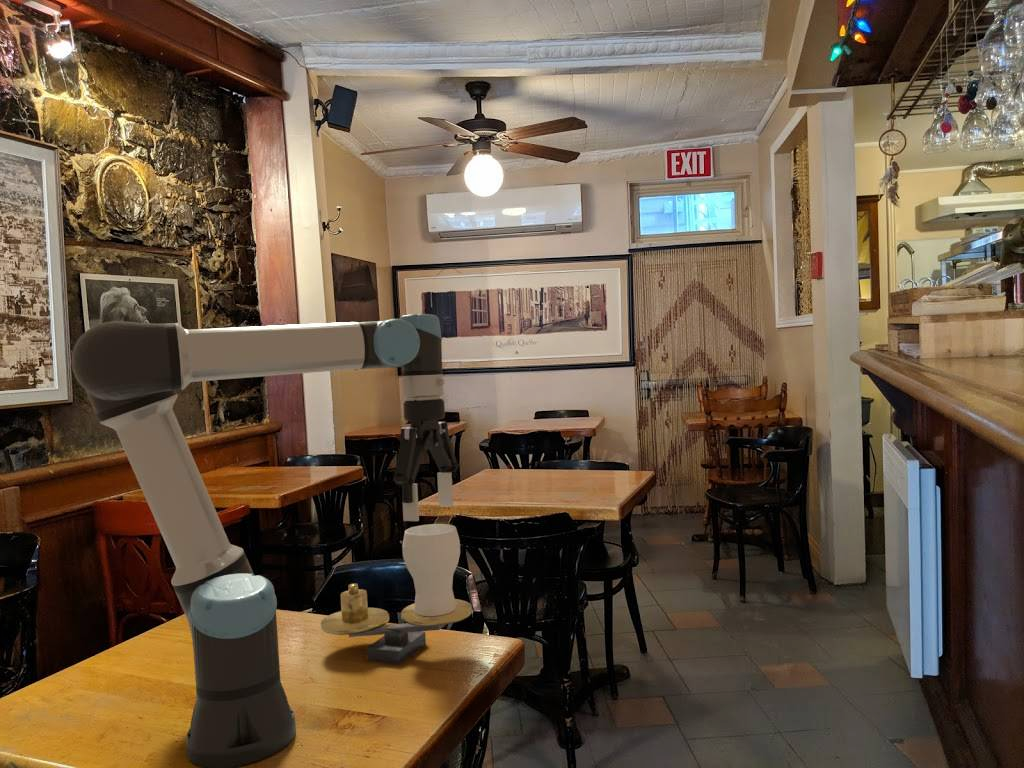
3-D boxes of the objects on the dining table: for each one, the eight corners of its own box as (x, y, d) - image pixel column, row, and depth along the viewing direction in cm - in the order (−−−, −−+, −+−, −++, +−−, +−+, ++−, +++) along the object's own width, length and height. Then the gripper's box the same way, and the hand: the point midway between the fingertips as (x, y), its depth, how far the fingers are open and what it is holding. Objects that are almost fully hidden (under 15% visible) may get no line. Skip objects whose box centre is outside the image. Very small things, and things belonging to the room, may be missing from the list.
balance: (455, 674, 128) (451, 603, 128) (308, 657, 140) (304, 593, 140) (485, 646, 140) (481, 582, 140) (347, 633, 152) (344, 573, 152)
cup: (460, 618, 131) (455, 534, 131) (401, 620, 131) (396, 537, 131) (466, 599, 142) (461, 521, 141) (411, 601, 142) (407, 524, 142)
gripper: (407, 401, 123) (414, 528, 123) (470, 394, 146) (475, 501, 146) (369, 403, 126) (375, 526, 126) (436, 396, 149) (442, 500, 149)
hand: (429, 513), depth 136 cm, fingers open, 13 cm apart
